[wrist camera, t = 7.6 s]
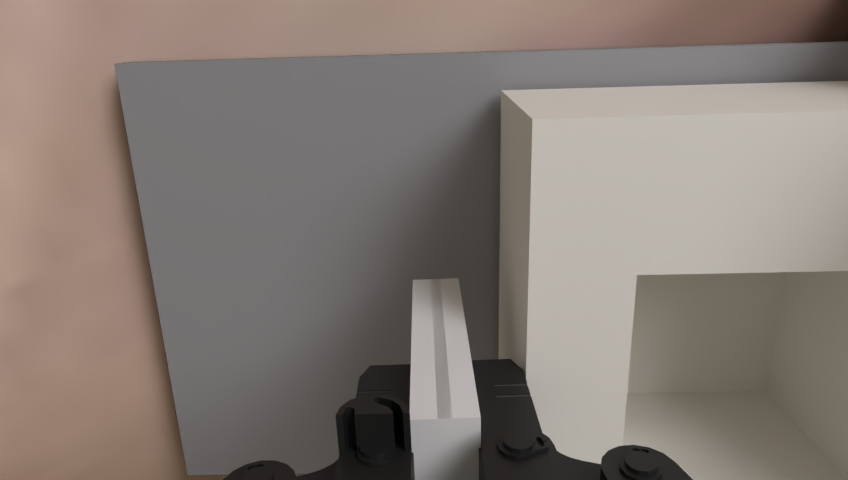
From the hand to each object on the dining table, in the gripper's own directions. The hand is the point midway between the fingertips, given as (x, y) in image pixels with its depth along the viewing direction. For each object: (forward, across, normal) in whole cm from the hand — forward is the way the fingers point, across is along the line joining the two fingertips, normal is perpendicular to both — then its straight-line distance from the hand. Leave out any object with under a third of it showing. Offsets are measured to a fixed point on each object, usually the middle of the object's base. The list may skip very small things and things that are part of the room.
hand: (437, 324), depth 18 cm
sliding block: (+2, -7, 0) cm, 7 cm away
